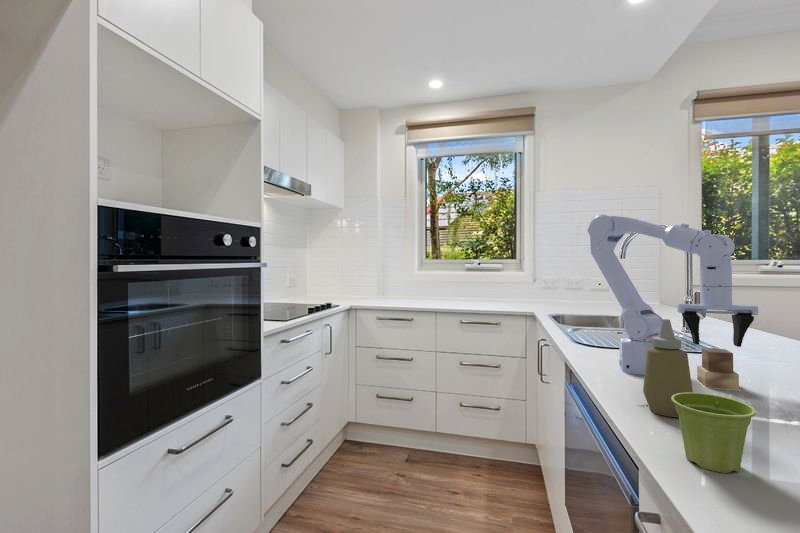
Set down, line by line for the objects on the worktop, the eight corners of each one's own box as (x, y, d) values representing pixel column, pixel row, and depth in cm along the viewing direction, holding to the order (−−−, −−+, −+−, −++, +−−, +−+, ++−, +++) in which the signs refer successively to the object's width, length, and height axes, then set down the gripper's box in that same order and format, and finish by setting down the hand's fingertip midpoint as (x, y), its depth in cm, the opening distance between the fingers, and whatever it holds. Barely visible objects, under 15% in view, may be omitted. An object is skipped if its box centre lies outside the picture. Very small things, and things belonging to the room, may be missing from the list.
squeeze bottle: (688, 408, 76) (686, 317, 76) (699, 423, 69) (697, 323, 69) (640, 402, 79) (638, 316, 79) (646, 416, 72) (645, 321, 72)
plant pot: (765, 488, 49) (764, 420, 49) (674, 468, 54) (673, 407, 54) (747, 457, 57) (746, 398, 57) (669, 442, 62) (669, 388, 62)
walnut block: (708, 371, 87) (708, 351, 87) (702, 366, 91) (701, 347, 91) (733, 373, 85) (733, 353, 85) (725, 368, 89) (725, 349, 89)
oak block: (705, 387, 87) (705, 371, 87) (697, 379, 92) (697, 365, 92) (738, 390, 84) (738, 374, 84) (728, 382, 90) (728, 367, 90)
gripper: (682, 286, 88) (683, 345, 88) (764, 287, 82) (765, 350, 82) (674, 285, 94) (675, 340, 94) (750, 285, 88) (750, 344, 88)
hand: (716, 344), depth 88 cm, fingers open, 7 cm apart
